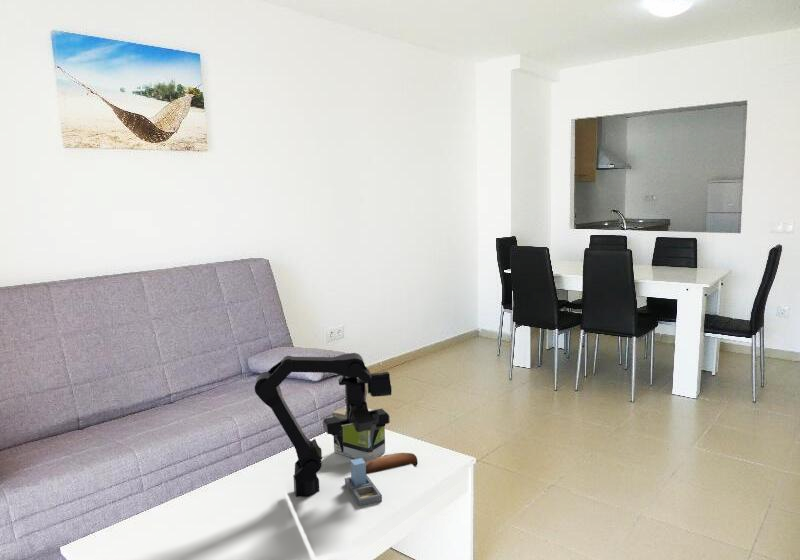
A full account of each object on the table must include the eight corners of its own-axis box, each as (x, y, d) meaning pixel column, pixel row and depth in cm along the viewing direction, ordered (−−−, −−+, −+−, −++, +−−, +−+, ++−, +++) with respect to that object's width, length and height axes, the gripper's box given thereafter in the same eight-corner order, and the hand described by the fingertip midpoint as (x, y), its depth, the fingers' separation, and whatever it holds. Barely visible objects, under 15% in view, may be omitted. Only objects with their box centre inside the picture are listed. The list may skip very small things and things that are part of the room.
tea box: (386, 452, 196) (385, 410, 193) (368, 464, 187) (366, 420, 185) (351, 442, 204) (350, 402, 202) (333, 453, 196) (331, 411, 194)
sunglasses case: (406, 454, 193) (410, 441, 190) (414, 472, 189) (419, 459, 185) (356, 466, 186) (359, 453, 182) (363, 484, 181) (366, 472, 177)
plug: (355, 491, 168) (354, 465, 167) (351, 485, 171) (350, 460, 170) (366, 488, 170) (365, 462, 168) (362, 483, 173) (361, 457, 172)
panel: (357, 511, 160) (357, 501, 159) (342, 487, 172) (342, 478, 172) (384, 504, 163) (384, 494, 162) (368, 482, 175) (367, 473, 175)
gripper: (331, 412, 156) (334, 466, 158) (396, 401, 163) (397, 453, 165) (321, 399, 166) (323, 450, 168) (382, 389, 173) (383, 438, 175)
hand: (357, 448), depth 169 cm, fingers open, 9 cm apart
